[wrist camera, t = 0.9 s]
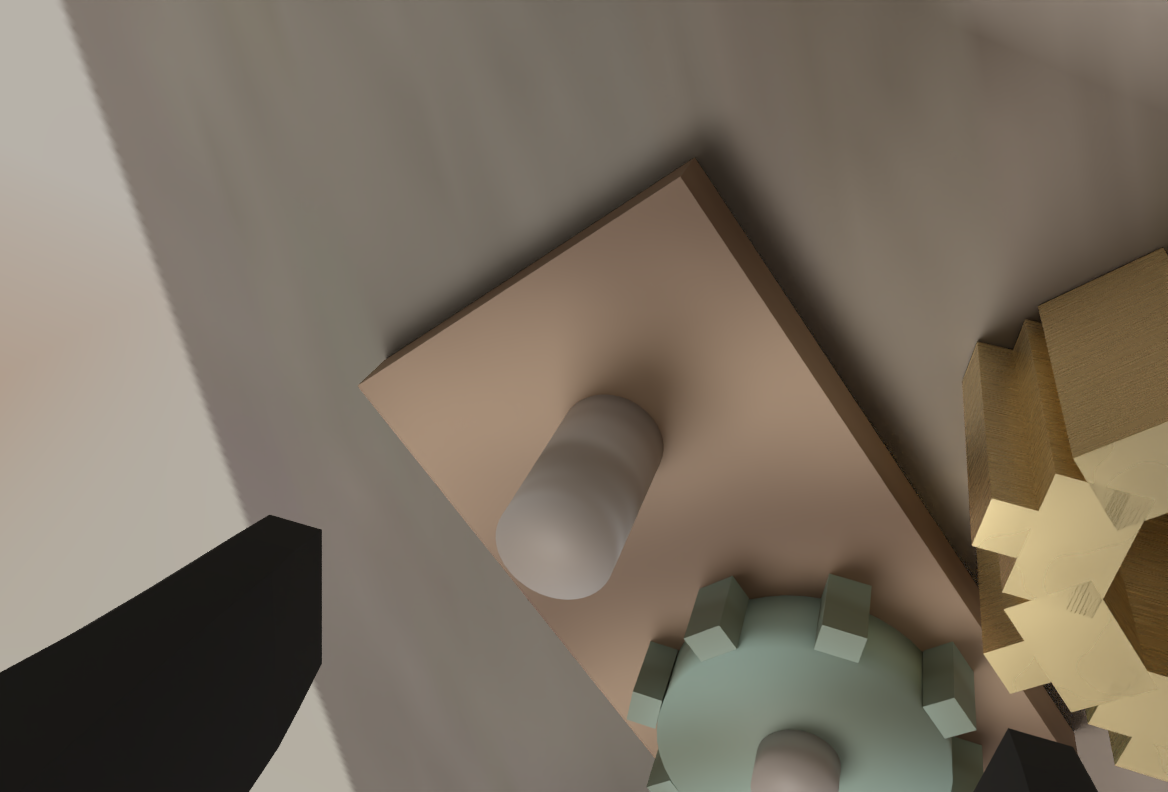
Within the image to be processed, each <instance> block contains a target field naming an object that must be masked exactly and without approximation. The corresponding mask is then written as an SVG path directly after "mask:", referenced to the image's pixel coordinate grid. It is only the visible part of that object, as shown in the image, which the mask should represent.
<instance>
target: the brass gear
mask: <svg viewBox="0 0 1168 792" xmlns="http://www.w3.org/2000/svg"><path fill="white" fill-rule="evenodd" d="M1038 309H1039V313H1040V317H1041V322H1042V323H1040V322H1036V321H1031V320H1027V319H1025V321H1024V323H1023V326H1022V328H1021V331H1020V333H1019V336H1018V338H1017V341H1016V343H1015V346H1014V348H1013V350H1010V349H1006V348H1002V347H998V346H994V345H990V344H986V343H982V342H977V343H976V346H975V349H974V351H973V354H972V357H971V359H970V362H969V365H968V367H967V370H966V373H965V375H964V378H963V381H962V384H963V402H964V419H965V437H966V454H967V472H968V489H969V507H970V524H971V542H972V546H974V547H976V548H977V563H978V579H979V595H980V610H981V626H982V642H983V654H984V655H985V657H986V658H987V660H988V661H989V663H990V664H991V666H992V667H993V669H994V670H995V672H996V673H997V675H998V676H999V678H1000V679H1001V681H1002V682H1003V684H1004V685H1005V687H1006V688H1007V690H1008V691H1009V693H1010V694H1012V693H1015V692H1019V691H1022V690H1026V689H1029V688H1033V687H1036V686H1040V685H1043V684H1047V683H1050V682H1052V684H1053V685H1054V687H1055V688H1056V690H1057V692H1058V693H1059V695H1060V696H1061V698H1062V699H1063V701H1064V702H1065V704H1066V705H1067V707H1068V708H1069V710H1070V711H1071V712H1075V711H1078V710H1082V709H1085V710H1086V716H1087V721H1088V724H1090V725H1093V726H1096V727H1100V728H1103V729H1106V730H1108V732H1109V737H1110V742H1111V747H1112V752H1113V757H1114V762H1115V766H1118V767H1122V768H1125V769H1128V770H1131V771H1134V772H1138V773H1141V774H1144V775H1147V776H1151V777H1154V778H1157V779H1160V780H1163V781H1167V782H1168V255H1167V254H1166V252H1165V250H1164V248H1163V247H1162V248H1160V249H1158V250H1156V251H1154V252H1152V253H1150V254H1148V255H1146V256H1143V257H1141V258H1139V259H1137V260H1135V261H1133V262H1131V263H1129V264H1126V265H1124V266H1122V267H1120V268H1118V269H1116V270H1114V271H1112V272H1109V273H1107V274H1105V275H1103V276H1101V277H1099V278H1097V279H1095V280H1092V281H1090V282H1088V283H1086V284H1084V285H1082V286H1080V287H1078V288H1075V289H1073V290H1071V291H1069V292H1067V293H1065V294H1063V295H1061V296H1058V297H1056V298H1054V299H1052V300H1050V301H1048V302H1046V303H1044V304H1041V305H1039V306H1038Z"/></svg>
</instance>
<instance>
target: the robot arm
mask: <svg viewBox="0 0 1168 792" xmlns="http://www.w3.org/2000/svg"><path fill="white" fill-rule="evenodd" d="M321 664H322V530H321V529H317V528H314V527H310V526H307V525H303V524H300V523H297V522H293V521H290V520H286V519H283V518H279V517H276V516H272V515H268V516H267V517H265V518H263V519H262V520H260V521H258V522H257V523H255V524H253V525H251V526H250V527H248V528H246V529H245V530H243V531H241V532H240V533H238V534H236V535H235V536H233V537H232V538H230V539H228V540H227V541H225V542H223V543H222V544H220V545H219V546H217V547H216V548H214V549H212V550H210V551H209V552H207V553H206V554H204V555H202V556H201V557H199V558H198V559H196V560H194V561H193V562H191V563H189V564H188V565H186V566H185V567H183V568H181V569H180V570H178V571H176V572H175V573H173V574H172V575H170V576H169V577H167V578H165V579H163V580H162V581H160V582H159V583H157V584H155V585H154V586H152V587H150V588H149V589H147V590H146V591H144V592H142V593H140V594H139V595H137V596H135V597H134V598H132V599H130V600H129V601H127V602H125V603H123V604H122V605H120V606H118V607H117V608H115V609H113V610H112V611H110V612H108V613H106V614H105V615H103V616H101V617H100V618H98V619H96V620H95V621H93V622H91V623H89V624H88V625H86V626H84V627H83V628H81V629H79V630H77V631H76V632H74V633H72V634H70V635H69V636H67V637H65V638H63V639H61V640H60V641H58V642H56V643H54V644H52V645H50V646H49V647H47V648H45V649H43V650H41V651H39V652H38V653H35V654H34V655H32V656H30V657H28V658H26V659H24V660H23V661H21V662H19V663H17V664H15V665H13V666H11V667H9V668H8V669H6V670H4V671H2V672H0V792H249V791H250V789H251V788H252V786H253V785H254V783H255V782H256V780H257V779H258V777H259V776H260V774H261V773H262V771H263V770H264V768H265V767H266V765H267V764H268V762H269V761H270V759H271V758H272V756H273V755H274V753H275V752H276V750H277V749H278V747H279V745H280V743H281V742H282V739H283V738H284V736H285V734H286V732H287V730H288V728H289V727H290V725H291V723H292V721H293V719H294V717H295V715H296V713H297V711H298V710H299V708H300V706H301V703H302V702H303V700H304V698H305V696H306V694H307V692H308V690H309V688H310V686H311V684H312V682H313V680H314V678H315V676H316V674H317V672H318V670H319V668H320V666H321ZM973 792H1098V791H1097V789H1096V787H1095V785H1094V784H1093V782H1092V780H1091V778H1090V776H1089V774H1088V773H1087V771H1086V769H1085V767H1084V765H1083V764H1082V762H1081V760H1080V758H1079V757H1078V755H1077V753H1076V751H1075V749H1074V748H1073V747H1072V746H1069V745H1065V744H1062V743H1058V742H1055V741H1051V740H1048V739H1044V738H1041V737H1037V736H1034V735H1031V734H1027V733H1024V732H1020V731H1017V730H1013V729H1010V728H1008V729H1007V731H1006V733H1005V735H1004V736H1003V738H1002V740H1001V742H1000V744H999V746H998V747H997V749H996V751H995V753H994V755H993V757H992V758H991V760H990V762H989V764H988V766H987V768H986V769H985V771H984V773H983V775H982V777H981V779H980V780H979V782H978V784H977V786H976V788H975V790H974V791H973Z"/></svg>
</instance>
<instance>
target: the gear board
mask: <svg viewBox="0 0 1168 792" xmlns="http://www.w3.org/2000/svg"><path fill="white" fill-rule="evenodd" d="M358 387H359V388H360V390H361V391H362V392H363V393H364V395H365V396H366V397H367V398H368V400H369V401H370V402H371V403H372V405H373V406H374V407H375V408H376V410H377V411H378V412H379V413H380V415H381V416H382V417H383V418H384V420H385V421H386V422H387V423H388V425H389V426H390V427H391V428H392V430H393V431H394V432H395V433H396V435H397V436H398V437H399V438H400V440H401V441H402V442H403V444H404V445H405V446H406V447H407V449H408V450H409V451H410V452H411V454H412V455H413V456H414V457H415V459H416V460H417V461H418V462H419V464H420V465H421V466H422V467H423V469H424V470H425V471H426V472H427V474H428V475H429V476H430V477H431V479H432V480H433V481H434V482H435V484H436V485H437V486H438V487H439V489H440V490H441V491H442V492H443V494H444V495H445V496H446V497H447V499H448V500H449V501H450V502H451V504H452V505H453V506H454V507H455V509H456V510H457V511H458V512H459V514H460V515H461V516H462V517H463V519H464V520H465V521H466V522H467V524H468V525H469V526H470V527H471V529H472V530H473V531H474V532H475V534H476V535H477V536H478V537H479V539H480V540H481V541H482V542H483V544H484V545H485V546H486V547H487V549H488V550H489V551H490V552H491V554H492V555H493V556H494V557H495V559H496V560H497V561H498V562H499V564H500V565H501V566H502V567H503V569H504V570H505V571H506V572H507V574H508V575H509V576H510V577H511V579H512V580H513V581H514V582H515V584H516V585H517V586H518V587H519V589H520V590H521V591H522V592H523V594H524V595H525V596H526V597H527V599H528V600H529V601H530V602H531V604H532V605H533V606H534V607H535V609H536V610H537V611H538V613H539V614H540V615H541V616H542V618H543V619H544V620H545V621H546V623H547V624H548V625H549V626H550V628H551V629H552V630H553V631H554V633H555V634H556V635H557V636H558V638H559V639H560V640H561V641H562V643H563V644H564V645H565V646H566V648H567V649H568V650H569V651H570V653H571V654H572V655H573V656H574V658H575V659H576V660H577V661H578V663H579V664H580V665H581V666H582V668H583V669H584V670H585V671H586V673H587V674H588V675H589V676H590V678H591V679H592V680H593V681H594V683H595V684H596V685H597V686H598V688H599V689H600V690H601V691H602V693H603V694H604V695H605V696H606V698H607V699H608V700H609V701H610V703H611V704H612V705H613V706H614V708H615V709H616V710H617V711H618V713H619V714H620V715H621V716H622V718H623V719H624V720H625V721H626V723H627V724H628V725H629V726H630V728H631V729H632V730H633V731H634V733H635V734H636V735H637V736H638V738H639V739H640V740H641V741H642V743H643V744H644V745H645V746H646V748H647V749H648V750H649V751H650V753H651V754H652V755H653V756H654V758H655V761H654V764H653V768H652V771H651V774H650V777H649V781H648V784H647V788H648V790H649V791H650V792H973V791H974V790H975V788H976V786H977V784H978V782H979V780H980V779H981V777H982V775H983V773H984V771H985V769H986V768H987V766H988V764H989V762H990V760H991V758H992V757H993V755H994V753H995V751H996V749H997V747H998V746H999V744H1000V742H1001V740H1002V738H1003V736H1004V735H1005V733H1006V731H1007V729H1008V728H1010V729H1013V730H1017V731H1020V732H1024V733H1027V734H1031V735H1034V736H1037V737H1041V738H1044V739H1048V740H1051V741H1055V742H1058V743H1062V744H1065V745H1069V746H1072V747H1073V748H1074V749H1075V751H1076V753H1077V748H1076V742H1075V736H1074V732H1073V731H1072V729H1071V728H1070V726H1069V725H1068V723H1067V721H1066V720H1065V718H1064V717H1063V715H1062V714H1061V712H1060V711H1059V709H1058V708H1057V706H1056V705H1055V703H1054V702H1053V700H1052V699H1051V697H1050V696H1049V694H1048V693H1047V691H1046V690H1045V688H1044V687H1043V685H1040V686H1036V687H1033V688H1029V689H1026V690H1022V691H1019V692H1015V693H1012V694H1010V693H1009V691H1008V690H1007V688H1006V687H1005V685H1004V684H1003V682H1002V681H1001V679H1000V678H999V676H998V675H997V673H996V672H995V670H994V669H993V667H992V666H991V664H990V663H989V661H988V660H987V658H986V657H985V655H984V654H983V642H982V626H981V610H980V595H979V588H978V586H977V585H976V583H975V582H974V580H973V579H972V577H971V576H970V574H969V573H968V571H967V570H966V568H965V567H964V565H963V564H962V562H961V561H960V559H959V558H958V556H957V555H956V553H955V552H954V550H953V548H952V547H951V545H950V544H949V542H948V541H947V539H946V538H945V536H944V535H943V533H942V532H941V530H940V529H939V527H938V526H937V524H936V523H935V521H934V520H933V518H932V517H931V515H930V514H929V512H928V511H927V509H926V508H925V506H924V504H923V503H922V501H921V500H920V498H919V497H918V495H917V494H916V492H915V491H914V489H913V488H912V486H911V485H910V483H909V482H908V480H907V479H906V477H905V476H904V474H903V473H902V471H901V470H900V468H899V467H898V465H897V464H896V462H895V460H894V459H893V457H892V456H891V454H890V453H889V451H888V450H887V448H886V447H885V445H884V444H883V442H882V441H881V439H880V438H879V436H878V435H877V433H876V432H875V430H874V429H873V427H872V426H871V424H870V423H869V421H868V420H867V418H866V416H865V415H864V413H863V412H862V410H861V409H860V407H859V406H858V404H857V403H856V401H855V400H854V398H853V397H852V395H851V394H850V392H849V391H848V389H847V388H846V386H845V385H844V383H843V382H842V380H841V379H840V377H839V375H838V374H837V372H836V371H835V369H834V368H833V366H832V365H831V363H830V362H829V360H828V359H827V357H826V356H825V354H824V353H823V351H822V350H821V348H820V347H819V345H818V344H817V342H816V341H815V339H814V338H813V336H812V335H811V333H810V331H809V330H808V328H807V327H806V325H805V324H804V322H803V321H802V319H801V318H800V316H799V315H798V313H797V312H796V310H795V309H794V307H793V306H792V304H791V303H790V301H789V300H788V298H787V297H786V295H785V294H784V292H783V291H782V289H781V287H780V286H779V284H778V283H777V281H776V280H775V278H774V277H773V275H772V274H771V272H770V271H769V269H768V268H767V266H766V265H765V263H764V262H763V260H762V259H761V257H760V256H759V254H758V253H757V251H756V250H755V248H754V247H753V245H752V243H751V242H750V240H749V239H748V237H747V236H746V234H745V233H744V231H743V230H742V228H741V227H740V225H739V224H738V222H737V221H736V219H735V218H734V216H733V215H732V213H731V212H730V210H729V209H728V207H727V206H726V204H725V203H724V201H723V199H722V198H721V196H720V195H719V193H718V192H717V190H716V189H715V187H714V186H713V184H712V183H711V181H710V180H709V178H708V177H707V175H706V174H705V172H704V171H703V169H702V168H701V166H700V165H699V163H698V162H697V160H696V159H695V158H693V159H692V160H690V161H689V162H687V163H685V164H684V165H682V166H681V167H679V168H678V169H676V170H675V171H673V172H672V173H670V174H669V175H667V176H666V177H664V178H663V179H661V180H659V181H658V182H656V183H655V184H653V185H652V186H650V187H649V188H647V189H646V190H644V191H643V192H641V193H640V194H638V195H637V196H635V197H633V198H632V199H630V200H629V201H627V202H626V203H624V204H623V205H621V206H620V207H618V208H617V209H615V210H614V211H612V212H611V213H609V214H608V215H606V216H604V217H603V218H601V219H600V220H598V221H597V222H595V223H594V224H592V225H591V226H589V227H588V228H586V229H585V230H583V231H582V232H580V233H578V234H577V235H575V236H574V237H572V238H571V239H569V240H568V241H566V242H565V243H563V244H562V245H560V246H559V247H557V248H556V249H554V250H552V251H551V252H549V253H548V254H546V255H545V256H543V257H542V258H540V259H539V260H537V261H536V262H534V263H533V264H531V265H530V266H528V267H526V268H525V269H523V270H522V271H520V272H519V273H517V274H516V275H514V276H513V277H511V278H510V279H508V280H507V281H505V282H504V283H502V284H500V285H499V286H497V287H496V288H494V289H493V290H491V291H490V292H488V293H487V294H485V295H484V296H482V297H481V298H479V299H478V300H476V301H474V302H473V303H471V304H470V305H468V306H467V307H465V308H464V309H462V310H461V311H459V312H458V313H456V314H455V315H453V316H452V317H450V318H448V319H447V320H445V321H444V322H442V323H441V324H439V325H438V326H436V327H435V328H433V329H432V330H430V331H429V332H427V333H426V334H424V335H422V336H421V337H419V338H418V339H416V340H415V341H413V342H412V343H410V344H409V345H407V346H406V347H404V348H403V349H401V350H400V351H398V352H396V353H395V354H393V355H392V356H390V357H389V358H387V359H386V360H384V361H383V362H382V363H381V364H380V365H379V366H378V367H377V368H376V369H375V370H374V371H373V372H372V373H371V374H369V375H368V376H367V377H366V378H365V379H364V380H363V381H362V382H361V383H360V384H359V385H358ZM1077 755H1078V754H1077Z"/></svg>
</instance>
